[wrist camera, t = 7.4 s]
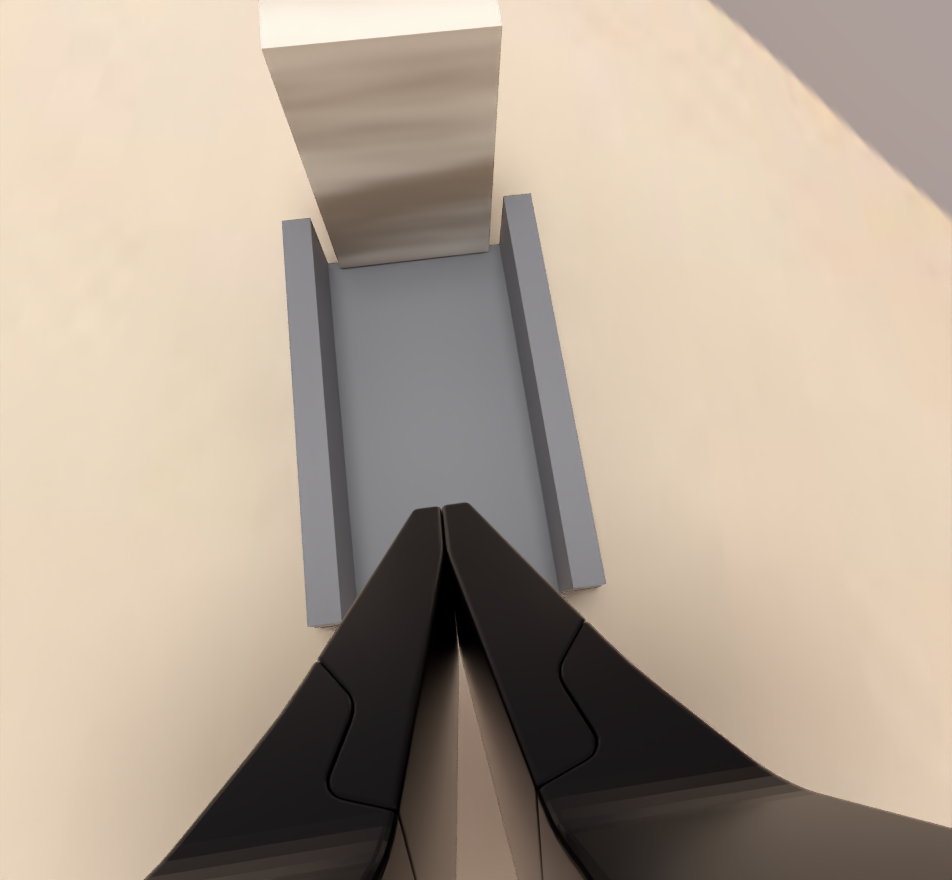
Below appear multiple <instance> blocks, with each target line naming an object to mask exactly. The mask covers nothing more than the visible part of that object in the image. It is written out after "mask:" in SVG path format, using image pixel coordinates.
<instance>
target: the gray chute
mask: <svg viewBox="0 0 952 880" xmlns="http://www.w3.org/2000/svg"><path fill="white" fill-rule="evenodd" d="M282 230H283V246H284V262H285V277H286V293H287V309H288V324H289V340H290V356H291V371H292V387H293V403H294V419H295V434H296V450H297V466H298V481H299V497H300V513H301V528H302V544H303V560H304V576H305V591H306V607H307V623H308V627H315V628H319V627H327V626H333V625H340V623H341V621H342V620H343V618H344V617H345V615H346V614H347V612H348V611H349V609H350V608H351V606H352V604H353V603H354V601H355V600H356V598H357V597H358V595H359V594H360V592H361V590H362V589H363V587H364V586H365V584H366V583H367V581H368V580H369V578H370V576H371V575H372V573H373V572H374V570H375V569H376V567H377V566H378V564H379V562H380V561H381V559H382V558H383V556H384V555H385V553H386V552H387V550H388V548H389V547H390V545H391V544H392V542H393V541H394V539H395V538H396V536H397V534H398V533H399V531H400V530H401V528H402V527H403V525H404V524H405V522H406V521H407V519H408V517H409V516H410V514H411V513H412V511H413V510H415V509H419V508H427V507H434V506H438V507H440V508H441V511H442V508H443V506H444V505H449V504H456V503H463V502H467V503H470V504H471V505H472V506H473V507H474V508H475V509H476V510H477V511H478V512H479V513H480V514H481V515H482V516H483V517H484V518H485V519H486V520H487V521H488V522H489V523H490V524H491V525H492V526H493V527H494V528H495V529H496V530H497V531H498V532H499V533H500V534H501V535H502V536H503V537H504V538H505V539H506V540H507V541H508V542H509V543H510V544H511V545H512V546H513V547H514V548H515V549H516V550H517V551H518V552H519V553H520V554H521V555H522V556H523V557H524V558H525V559H526V560H527V561H528V562H529V563H530V564H531V565H532V566H533V567H534V568H535V569H536V570H537V571H538V572H539V573H540V574H541V575H542V576H543V577H544V578H545V579H546V580H547V581H548V582H549V583H550V584H551V585H552V586H553V587H554V588H555V589H556V590H557V591H558V592H559V593H561V592H567V591H574V590H581V589H588V588H595V587H600V586H601V585H603V584H606V581H605V576H604V571H603V565H602V560H601V555H600V550H599V545H598V539H597V534H596V529H595V524H594V519H593V514H592V508H591V503H590V498H589V493H588V488H587V483H586V477H585V472H584V467H583V462H582V457H581V451H580V446H579V441H578V436H577V431H576V426H575V420H574V415H573V410H572V405H571V400H570V395H569V389H568V384H567V379H566V374H565V369H564V363H563V358H562V353H561V348H560V343H559V338H558V332H557V327H556V322H555V317H554V312H553V307H552V301H551V296H550V291H549V286H548V281H547V275H546V270H545V265H544V260H543V255H542V250H541V244H540V239H539V234H538V229H537V224H536V218H535V213H534V208H533V203H532V198H531V193H530V194H521V195H512V196H504V197H503V208H502V220H501V231H500V242H499V244H497V245H489V251H488V252H479V253H471V254H462V255H453V256H445V257H436V258H427V259H419V260H410V261H401V262H393V263H384V264H375V265H367V266H358V267H349V268H340V265H339V263H331V264H328V262H327V260H326V257H325V255H324V252H323V250H322V247H321V244H320V242H319V239H318V237H317V234H316V232H315V229H314V227H313V224H312V221H311V219H310V218H304V219H295V220H286V221H282Z"/></svg>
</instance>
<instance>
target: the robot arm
mask: <svg viewBox="0 0 952 880" xmlns="http://www.w3.org/2000/svg"><path fill="white" fill-rule="evenodd" d="M456 627H457V628H456ZM457 634H458V637H457ZM458 640H459V647H460V653H461V657H462V662H463V666H464V670H465V674H466V678H467V682H468V686H469V690H470V694H471V698H472V701H473V705H474V709H475V713H476V717H477V721H478V725H479V729H480V733H481V737H482V741H483V745H484V748H485V752H486V756H487V760H488V764H489V768H490V772H491V776H492V780H493V784H494V788H495V792H496V795H497V799H498V803H499V807H500V811H501V815H502V819H503V823H504V827H505V831H506V835H507V839H508V843H509V846H510V850H511V854H512V858H513V862H514V866H515V870H516V874H517V878H518V880H952V828H949V827H945V826H942V825H938V824H934V823H930V822H926V821H923V820H919V819H915V818H911V817H907V816H903V815H900V814H896V813H892V812H888V811H884V810H880V809H877V808H873V807H869V806H865V805H861V804H858V803H854V802H850V801H846V800H842V799H838V798H835V797H831V796H827V795H823V794H820V793H816V792H813V791H810V790H807V789H804V788H802V787H800V786H797V785H795V784H793V783H791V782H789V781H787V780H785V779H783V778H781V777H779V776H778V775H776V774H774V773H773V772H771V771H770V770H768V769H766V768H765V767H763V766H762V765H760V764H759V763H757V762H756V761H755V760H753V759H752V758H751V757H749V756H748V755H746V754H745V753H744V752H743V751H741V750H740V749H739V748H737V747H736V746H735V745H734V744H732V743H731V742H730V741H729V740H727V739H726V738H725V737H723V736H722V735H721V734H720V733H718V732H717V731H716V730H714V729H713V728H712V727H711V726H709V725H708V724H707V723H705V722H704V721H703V720H702V719H700V718H699V717H698V716H697V715H695V714H694V713H693V712H691V711H690V710H689V709H688V708H686V707H685V706H684V705H682V704H681V703H680V702H679V701H677V700H676V699H675V698H673V697H672V696H671V695H670V694H668V693H667V692H666V691H665V690H663V689H662V688H661V687H660V686H658V685H657V684H656V683H655V682H653V681H652V680H651V679H650V678H649V677H647V676H646V675H645V674H644V673H643V672H641V671H640V670H639V669H638V668H637V667H635V666H634V665H633V664H632V663H630V662H629V661H628V660H627V659H626V658H625V657H624V656H623V655H622V654H621V653H620V652H619V651H618V650H617V649H616V648H614V647H613V646H612V645H611V644H610V643H609V642H608V641H607V640H606V639H605V638H604V637H603V636H602V635H601V634H600V633H599V632H598V631H597V630H596V629H595V628H594V627H593V626H592V625H591V624H590V623H588V622H586V620H585V618H584V617H583V616H582V615H581V614H580V613H579V612H578V611H577V610H576V609H575V608H574V607H573V606H572V605H571V604H570V603H569V602H568V601H567V600H566V599H565V598H564V597H563V596H562V595H561V594H560V593H559V592H558V591H557V590H556V589H555V588H554V587H553V586H552V585H551V584H550V583H549V582H548V581H547V580H546V579H545V578H544V577H543V576H542V575H541V574H540V573H539V572H538V571H537V570H536V569H535V568H534V567H533V566H532V565H531V564H530V563H529V562H528V561H527V560H526V559H525V558H524V557H523V556H522V555H521V554H520V553H519V552H518V551H517V550H516V549H515V548H514V547H513V546H512V545H511V544H510V543H509V542H508V541H507V540H506V539H505V538H504V537H503V536H502V535H501V534H500V533H499V532H498V531H497V530H496V529H495V528H494V527H493V526H492V525H491V524H490V523H489V522H488V521H487V520H486V519H485V518H484V517H483V516H482V515H481V514H480V513H479V512H478V511H477V510H476V509H475V508H474V507H473V506H472V505H471V504H470V503H467V502H463V503H456V504H449V505H444V506H443V508H442V511H441V508H440V507H438V506H434V507H427V508H419V509H415V510H413V511H412V513H411V514H410V516H409V517H408V519H407V521H406V522H405V524H404V525H403V527H402V528H401V530H400V531H399V533H398V534H397V536H396V538H395V539H394V541H393V542H392V544H391V545H390V547H389V548H388V550H387V552H386V553H385V555H384V556H383V558H382V559H381V561H380V562H379V564H378V566H377V567H376V569H375V570H374V572H373V573H372V575H371V576H370V578H369V580H368V581H367V583H366V584H365V586H364V587H363V589H362V590H361V592H360V594H359V595H358V597H357V598H356V600H355V601H354V603H353V604H352V606H351V608H350V609H349V611H348V612H347V614H346V615H345V617H344V618H343V620H342V621H341V623H340V625H339V626H338V628H337V629H336V631H335V632H334V634H333V635H332V637H331V639H330V640H329V642H328V643H327V645H326V646H325V648H324V649H323V651H322V653H321V654H320V656H319V657H318V662H315V663H314V664H313V666H312V668H311V669H310V671H309V672H308V674H307V675H306V677H305V679H304V680H303V682H302V683H301V685H300V686H299V688H298V689H297V690H296V692H295V693H294V695H293V696H292V698H291V699H290V701H289V702H288V704H287V705H286V706H285V708H284V709H283V711H282V712H281V714H280V715H279V716H278V718H277V719H276V720H275V722H274V723H273V724H272V726H271V727H270V728H269V729H268V731H267V732H266V733H265V735H264V736H263V737H262V739H261V740H260V741H259V742H258V744H257V745H256V746H255V748H254V749H253V750H252V752H251V753H250V754H249V755H248V756H247V758H246V759H245V760H244V761H243V763H242V764H241V765H240V766H239V768H238V769H237V770H236V771H235V773H234V774H233V775H232V776H231V777H230V779H229V780H228V781H227V782H226V784H225V785H224V786H223V787H222V789H221V790H220V791H219V792H218V793H217V795H216V796H215V797H214V798H213V800H212V801H211V802H210V803H209V805H208V806H207V807H206V808H205V810H204V811H203V812H202V813H201V814H200V816H199V817H198V818H197V819H196V821H195V822H194V823H193V824H192V826H191V827H190V828H189V829H188V830H187V832H186V833H185V834H184V835H183V837H182V838H181V839H180V840H179V842H178V843H177V844H176V845H175V846H174V848H173V849H172V850H171V851H170V852H169V853H168V855H167V856H166V857H165V858H164V859H163V860H162V861H161V863H160V864H159V865H158V866H157V867H156V868H155V869H154V870H153V871H152V872H151V873H150V874H149V875H148V876H147V877H146V878H145V879H144V880H456V844H457V772H458V700H459V649H458Z"/></svg>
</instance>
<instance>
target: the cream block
mask: <svg viewBox="0 0 952 880" xmlns="http://www.w3.org/2000/svg"><path fill="white" fill-rule="evenodd" d="M259 17H260V34H261V49H262V52H263V55H264V57H265V60H266V63H267V66H268V68H269V71H270V74H271V77H272V80H273V82H274V85H275V88H276V91H277V93H278V96H279V99H280V102H281V105H282V107H283V110H284V113H285V116H286V118H287V121H288V124H289V127H290V129H291V132H292V135H293V138H294V141H295V143H296V146H297V149H298V152H299V154H300V157H301V160H302V163H303V165H304V168H305V171H306V174H307V177H308V179H309V182H310V185H311V188H312V190H313V193H314V196H315V199H316V201H317V204H318V207H319V210H320V213H321V215H322V218H323V221H324V224H325V226H326V229H327V232H328V235H329V237H330V240H331V243H332V246H333V249H334V251H335V254H336V257H337V260H338V262H339V265H340V268H349V267H358V266H367V265H375V264H384V263H393V262H401V261H410V260H419V259H427V258H436V257H445V256H453V255H462V254H471V253H479V252H488V251H489V236H490V219H491V202H492V186H493V169H494V152H495V135H496V119H497V102H498V85H499V69H500V52H501V35H502V23H501V18H500V12H499V7H498V2H497V0H259Z"/></svg>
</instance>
